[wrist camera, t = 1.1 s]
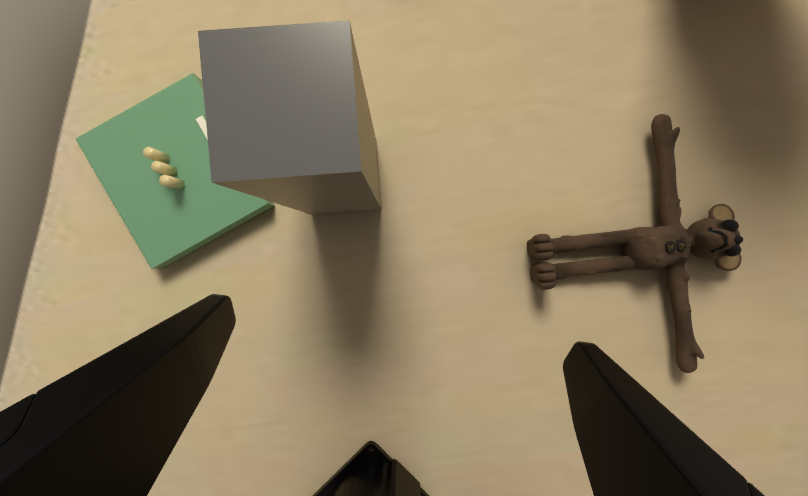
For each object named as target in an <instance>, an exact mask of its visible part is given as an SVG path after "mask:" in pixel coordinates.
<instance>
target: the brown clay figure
mask: <svg viewBox="0 0 808 496" xmlns="http://www.w3.org/2000/svg"><path fill="white" fill-rule="evenodd" d="M651 130H652V136H653V141H654V146H655V151H656V157H657V166H658V185H659V206H660V219H661V226H659V227H639V228H633V229H629V230H621V231H613V232H604V233H596V234H586V235H579V236H562V237H560V238H555V239H551V238H550V236H549V235H547V234H538V235H535V236H534V237H532V239H531V240H529V241H527V249H528V254H529V255H530V256H532V257H534V258H535V259H537V260H548V259H550V258H552V256H553V253H554V252H562V251H571V250H581V249H587V248H596V247H604V246H612V245H621V244H623V245H622V246H623V254H624V256H623V257H614V258H604V259H595V260H586V261H577V262H568V263H558V264H551V263H547V262H544V263H539V264H536V265H532V266H531V267H530V275H531V279H532V281H534V282H535V283H536V284H537V285H538V287H539V288H541V289H545V290H547V289H552V288H554V287H555V285H556V282H555V280H556V279H564V278H566V277H570V276H578V275H592V274H596V273H605V272H614V271H623V270H632V269H639V270H651V269H656V268H663V267H666V276H667V287H668V290H669V294H670V299H671V305H672V311H673V317H674V323H675V332H676V361H677V364H678V367H679V368H680V369H681V370H682V371H683V372H685V373H691V372H693V371H695V370H696V369H697V357H699V358H701V359H703V358H704V354H703V352H702V351H701V349H700V347H699V346H698V344H697V343H696V340H695V338H694V334H693V329H692V321H691V308H690V304H689V297H688V280H690V276H689V274H688V272H687V271H686V269H685V263H686V261H687V260H688V258H689V255H690V253H691V254H693V255H694V256H696V257H699V258H703V259H708V260H711V259H713V260H714V262H715V265H716V266H717V267H718V268H719V269H721V270H725V271H732V270H735V269H737V268H738V267H739V265H740V263H741V255H740V252H741V247H740V246H739V245H740V243H741V242H742V241H743V238H742V237H741V236H740V233H739V231H738V227H739V225H738V223H737V222H736V221H735V220H734V218H735V216H734V212H733V211H732V209H731V208H730V207H729V206H727V205H725V204H717V205H715V206H713V207H712V208H711V209H710V210H709V218H708V219H704V220H700V221H697V222H694V223H693V224H692V225H691V226H690V227H689V228H688V229H687V231H686V229H685V228H684V227H683V226H682V225H681V223H680V216H681V208H680V206H679V203H680V199H679V200H678V194H677V185H676V167H675V158H674V146H675V142H676V140H677V137H678V135H679V132H680V128H679V127H677V128H675V129H674V130H672V123H671V118H670V117H669V116H668V115H665V114H659V115H657V116H655V117H654V119H653V121H652V124H651Z"/></svg>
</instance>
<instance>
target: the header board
mask: <svg viewBox="0 0 808 496" xmlns="http://www.w3.org/2000/svg"><path fill="white" fill-rule="evenodd" d="M76 141H77V143H78V144H79V146H80V148H81V149H82V151H83V153H84V154H85V156H86V158H87V160H88V161H89V163H90V165H91V166H92V168H93V170H94V172H95V173H96V175H97V177H98V178H99V180H100V182H101V183H102V185H103V187H104V189H105V190H106V192H107V194H108V195H109V197H110V199H111V201H112V202H113V204H114V206H115V207H116V209H117V211H118V212H119V214H120V216H121V218H122V219H123V221H124V223H125V224H126V226H127V228H128V230H129V231H130V233H131V235H132V236H133V238H134V240H135V241H136V243H137V245H138V247H139V248H140V250H141V252H142V253H143V255H144V257H145V259H146V260H147V262H148V264H149V265H150V267H151V269H154V268H164V267H166V266H168V265H170V264H171V263H173V262H175V261H177V260H178V259H180V258H182V257H184V256H186V255H187V254H189V253H191V252H193V251H194V250H196V249H198V248H200V247H201V246H203V245H205V244H207V243H209V242H210V241H212V240H214V239H216V238H217V237H219V236H221V235H223V234H225V233H226V232H228V231H230V230H232V229H233V228H235V227H237V226H239V225H241V224H242V223H244V222H246V221H248V220H249V219H251V218H253V217H255V216H257V215H258V214H260V213H262V212H264V211H265V210H267V209H269V208H271V207H273V206H274V204H273V202H271V201H268V200H265V199H261V198H258V197H255V196H252V195H249V194H246V193H243V192H239V191H236V190H233V189H230V188H227V187H224V186H221V185H218V184H214V183H211V172H210V161H209V149H208V138H207V127H206V115H205V104H204V93H203V82H202V80H201V79H200V78H198V77H197V76H196V75H195V74H194V73H192V74H190V75H188V76H187V77H185V78H183V79H181V80H180V81H178V82H176V83H174V84H172V85H171V86H169V87H167V88H165V89H163V90H162V91H160V92H158V93H156V94H155V95H153V96H151V97H149V98H147V99H146V100H144V101H142V102H140V103H138V104H137V105H135V106H133V107H131V108H130V109H128V110H126V111H124V112H122V113H121V114H119V115H117V116H115V117H113V118H112V119H110V120H108V121H106V122H105V123H103V124H101V125H99V126H97V127H96V128H94V129H92V130H90V131H88V132H87V133H85V134H83V135H81V136H80V137H78V138H76Z"/></svg>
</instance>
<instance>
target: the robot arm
mask: <svg viewBox="0 0 808 496" xmlns="http://www.w3.org/2000/svg"><path fill="white" fill-rule="evenodd" d="M235 322H236V319H235V314H234V309H233V305H232V301H231V298H230V297H229V296H226V295H218V294H212V295H209V296H207V297H206V298H204V299H202V300H200V301H198V302H197V303H195V304H193V305H191V306H190V307H188V308H186V309H184V310H182V311H181V312H179V313H177V314H175V315H173V316H172V317H170V318H168V319H166V320H164V321H163V322H161V323H159V324H157V325H155V326H154V327H152V328H150V329H148V330H146V331H145V332H143V333H141V334H139V335H137V336H136V337H134V338H132V339H130V340H129V341H127V342H125V343H123V344H121V345H120V346H118V347H116V348H114V349H112V350H111V351H109V352H107V353H105V354H103V355H102V356H100V357H98V358H96V359H94V360H93V361H91V362H89V363H87V364H85V365H84V366H82V367H80V368H78V369H76V370H75V371H73V372H71V373H69V374H68V375H66V376H64V377H62V378H60V379H59V380H57V381H55V382H53V383H51V384H50V385H48V386H46V387H44V388H42V389H41V390H39V391H38V392H37V393H36V394H31V395H30V396H28V397H26V398H24V399H22V400H21V401H19V402H17V403H15V404H13V405H12V406H10V407H8V408H6V409H4V410H3V411H1V412H0V496H147V495H148V493H149V491H150V489H151V488H152V486H153V484H154V482H155V480H156V479H157V477H158V475H159V473H160V472H161V470H162V468H163V466H164V464H165V463H166V461H167V459H168V457H169V455H170V454H171V452H172V450H173V448H174V447H175V445H176V443H177V441H178V439H179V438H180V436H181V434H182V432H183V431H184V429H185V427H186V425H187V423H188V422H189V420H190V418H191V416H192V415H193V413H194V411H195V409H196V407H197V406H198V404H199V402H200V400H201V398H202V397H203V395H204V393H205V391H206V389H207V388H208V386H209V384H210V382H211V380H212V378H213V375H214V373H215V371H216V369H217V366H218V364H219V362H220V359H221V357H222V355H223V352H224V350H225V348H226V345H227V343H228V341H229V338H230V336H231V334H232V331H233V329H234V326H235ZM563 372H564V377H565V383H566V388H567V393H568V399H569V404H570V409H571V415H572V420H573V424H574V429H575V432H576V436H577V440H578V443H579V446H580V450H581V453H582V457H583V460H584V463H585V467H586V470H587V474H588V477H589V480H590V484H591V487H592V491H593V494H594V496H764V495H763V494H762V493H761V492H760V491H759V490H758V489H757V488H756V487H754V486H753V485H752V484H751V483H747V480H746V479H745V478H744V477H743V476H742V475H741V474H740V473H739V472H737V471H736V470H735V469H734V468H733V467H732V466H731V465H730V464H728V463H727V462H726V461H725V460H724V459H723V458H722V457H721V456H720V455H718V454H717V453H716V452H715V451H714V450H713V449H712V448H711V447H709V446H708V445H707V444H706V443H705V442H704V441H703V440H702V439H701V438H699V437H698V436H697V435H696V434H695V433H694V432H693V431H692V430H690V429H689V428H688V427H687V426H686V425H685V424H684V423H683V422H681V421H680V420H679V419H678V418H677V417H676V416H675V415H674V414H673V413H671V412H670V411H669V410H668V409H667V408H666V407H665V406H664V405H662V404H661V403H660V402H659V401H658V400H657V399H656V398H655V397H654V396H652V395H651V394H650V393H649V392H648V391H647V390H646V389H645V388H643V387H642V386H641V385H640V384H639V383H638V382H637V381H636V380H634V379H633V378H632V377H631V376H630V375H629V374H628V373H627V372H626V371H624V370H623V369H622V368H621V367H620V366H619V365H618V364H617V363H615V362H614V361H613V360H612V359H611V358H610V357H609V356H608V355H606V354H605V353H604V352H603V351H602V350H601V349H600V348H599V347H598V346H596V345H595V344H593V343H588V342H580V341H579V342H576V343H575V344H574V345H573V347H572V348H571V350H570V352H569V353H568V355H567V357H566V358H565V360H564V363H563ZM369 448H373V449H374V451H369V450H368V449H369ZM313 496H429V495H428V494H427V493H426V492H425V491H424V490H423V489H422V488H421V487H420V483H419V482H418V481H417V480H416V479H415V478H414V477H413V476H412V475H411V474H410V473H409V472H408V471H407V470H406V469H405V468H404V467H403V466H402V465H401V464H400V463H399V462H398V461H397V460H396V459H392V458H391V457H390V456H389V455H388V454H387V453H386V452H385V451H384V450H383V449H382V448H381V447H380V446H379V445H378V444H377V443H375V442H374V441H369V442H367V443H366V444H365V445H364V446H363V447H362V448H361V449H360V450H359V451H358V452H357V453H356V454H355V455H354V456H353V457H352V458H351V459H350V460H348V461H347V462H346V463H345V464H344V465H343V466H342V467H341V468H340V469H339V470H338V471H337V472H336V473H335V474H334V475H333V476H332V477H331V478H330V479H329V480H328V481H327V482H326V483H325V484H324V485H323V486H322V487H321V488H320V489H319V490H318V491H317V492H316V493H315V494H314V495H313Z"/></svg>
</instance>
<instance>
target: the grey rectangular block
mask: <svg viewBox="0 0 808 496" xmlns="http://www.w3.org/2000/svg"><path fill="white" fill-rule="evenodd" d="M198 36H199V48H200V59H201V70H202V82H203V93H204V104H205V115H206V127H207V138H208V149H209V161H210V172H211V183H214V184H218V185H221V186H224V187H227V188H230V189H233V190H236V191H239V192H243V193H246V194H249V195H252V196H255V197H258V198H261V199H265V200H268V201H271V202H274V203H277V204H280V205H283V206H286V207H290V208H293V209H296V210H299V211H302V212H305V213H308V214H312V215H313V214H326V213H339V212H352V211H365V210H378V209H381V197H380V184H379V172H378V159H377V146H376V137H375V133H374V128H373V124H372V119H371V115H370V110H369V106H368V101H367V97H366V92H365V88H364V84H363V79H362V75H361V70H360V66H359V61H358V57H357V52H356V48H355V43H354V39H353V34H352V30H351V25H350V21H336V22H321V23H307V24H292V25H277V26H263V27H248V28H234V29H219V30H204V31H198Z"/></svg>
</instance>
